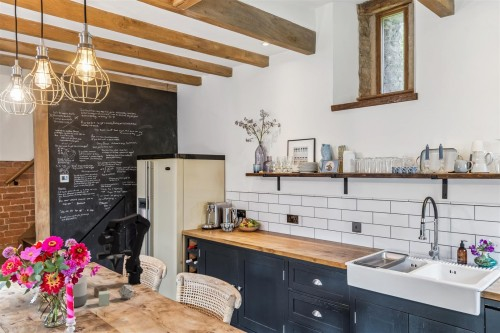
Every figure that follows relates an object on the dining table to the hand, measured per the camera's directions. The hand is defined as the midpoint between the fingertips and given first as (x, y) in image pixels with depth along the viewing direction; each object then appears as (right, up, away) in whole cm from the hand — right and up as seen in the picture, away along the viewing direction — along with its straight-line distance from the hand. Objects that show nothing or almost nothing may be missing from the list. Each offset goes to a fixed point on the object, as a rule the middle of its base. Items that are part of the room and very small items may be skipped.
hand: (114, 269), depth 218 cm
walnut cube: (-5, -13, -7) cm, 15 cm away
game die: (+10, -13, -11) cm, 20 cm away
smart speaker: (-12, -13, -21) cm, 27 cm away
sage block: (+1, -13, -19) cm, 23 cm away
